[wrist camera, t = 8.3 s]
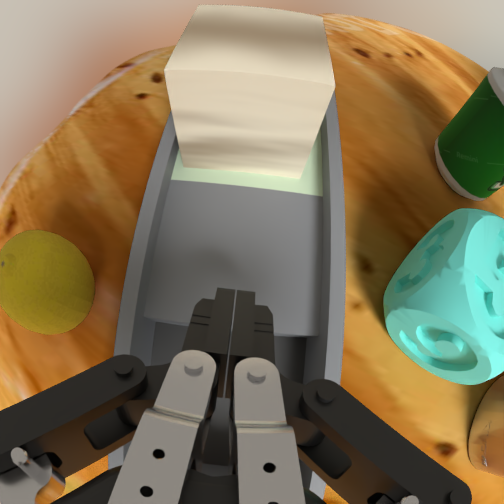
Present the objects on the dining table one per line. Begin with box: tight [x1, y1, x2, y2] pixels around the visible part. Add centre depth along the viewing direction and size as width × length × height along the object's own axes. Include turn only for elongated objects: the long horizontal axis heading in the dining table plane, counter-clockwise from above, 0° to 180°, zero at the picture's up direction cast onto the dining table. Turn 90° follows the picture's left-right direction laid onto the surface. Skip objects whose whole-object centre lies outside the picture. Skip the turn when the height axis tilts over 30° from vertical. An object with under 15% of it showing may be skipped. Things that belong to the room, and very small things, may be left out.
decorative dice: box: [383, 208, 504, 385], centre depth 15 cm, size 8×8×8 cm
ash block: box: [164, 5, 335, 179], centre depth 15 cm, size 7×7×8 cm
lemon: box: [0, 230, 95, 335], centre depth 14 cm, size 6×6×8 cm
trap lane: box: [108, 90, 346, 500], centre depth 18 cm, size 35×11×4 cm, turn 175°
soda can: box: [434, 67, 504, 201], centre depth 17 cm, size 8×8×12 cm
